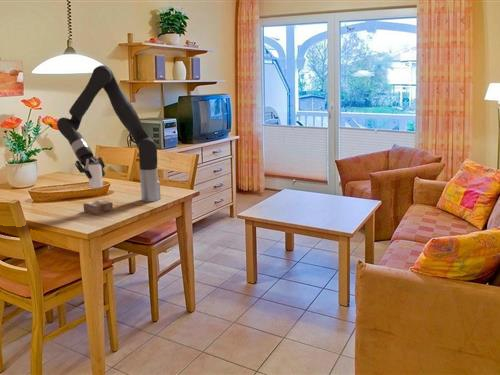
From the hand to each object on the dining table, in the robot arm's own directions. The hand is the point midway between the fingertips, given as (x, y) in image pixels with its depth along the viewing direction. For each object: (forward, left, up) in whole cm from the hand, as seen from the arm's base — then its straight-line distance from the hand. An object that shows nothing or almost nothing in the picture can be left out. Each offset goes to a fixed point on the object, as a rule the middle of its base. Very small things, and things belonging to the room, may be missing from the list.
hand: (97, 176), depth 235 cm
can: (0, -2, -6) cm, 6 cm away
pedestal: (0, -2, -18) cm, 18 cm away
